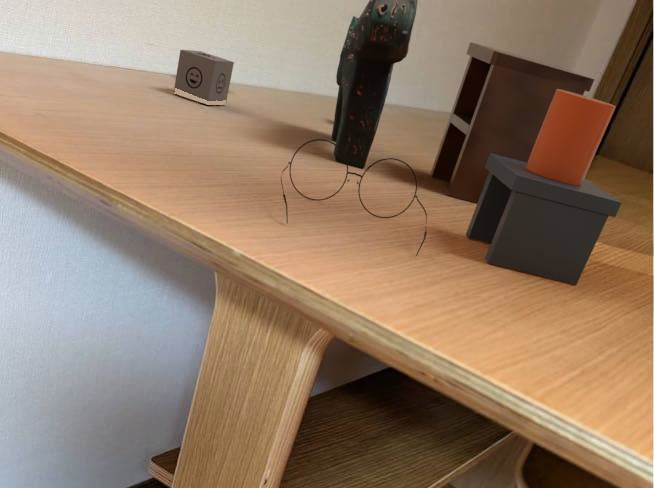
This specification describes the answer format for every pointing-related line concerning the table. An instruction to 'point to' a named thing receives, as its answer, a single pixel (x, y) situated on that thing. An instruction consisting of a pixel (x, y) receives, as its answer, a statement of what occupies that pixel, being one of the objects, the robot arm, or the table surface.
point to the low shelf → (538, 221)
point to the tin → (569, 137)
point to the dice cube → (203, 75)
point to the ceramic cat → (368, 74)
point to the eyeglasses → (357, 183)
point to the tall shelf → (497, 115)
